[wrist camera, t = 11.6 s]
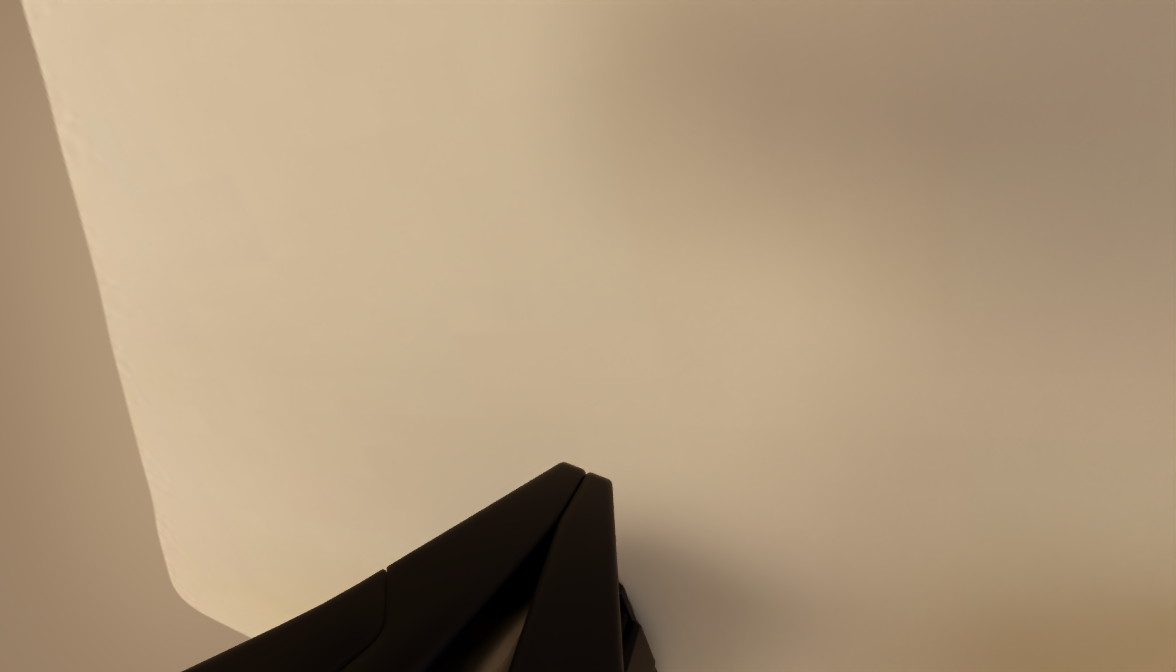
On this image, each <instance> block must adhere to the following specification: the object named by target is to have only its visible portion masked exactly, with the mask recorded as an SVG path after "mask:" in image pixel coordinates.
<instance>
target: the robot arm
mask: <svg viewBox="0 0 1176 672" xmlns="http://www.w3.org/2000/svg"><path fill="white" fill-rule="evenodd" d="M182 672H657V670H656V668H655V660H654V658H653V655H652V653H651V650H650V648H649V645H648V642H647V640H646V637H645V635H644V632H643V630H642V627H641V625H640V624H639V623H638V622H637V620H636V617H635V615H634V612H633V610H632V607H631V604H630V602H629V599H628V597H627V594H626V592H625V589H624V587H623V586H622V585H621V584H620V583H619V582H618V568H617V552H616V536H615V520H614V503H613V487H612V482H611V481H610V480H609V479H607V478H604V477H602V476H599V475H596V474H594V473H591V472H590V473H587V474H586V472H585V471H584V470H583V469H581V468H579V467H576V466H574V465H571V464H568V463H566V462H562V463H559V464H558V465H556V466H554V467H553V468H551V469H549V470H548V471H546V472H544V473H543V474H541V475H539V476H538V477H536V478H534V479H533V480H531V481H529V482H528V483H526V484H524V485H523V486H521V487H519V488H518V489H516V490H514V491H513V492H511V493H509V494H508V495H506V496H504V497H503V498H501V499H499V500H498V501H496V502H494V503H493V504H491V505H489V506H488V507H486V508H484V509H483V510H481V511H479V512H478V513H476V514H474V515H473V516H471V517H469V518H468V519H466V520H464V521H463V522H461V523H459V524H458V525H456V526H454V527H453V528H451V529H449V530H448V531H446V532H444V533H443V534H441V535H439V536H438V537H436V538H434V539H432V540H431V541H429V542H427V543H426V544H424V545H422V546H421V547H419V548H417V549H416V550H414V551H412V552H411V553H409V554H407V555H406V556H404V557H402V558H401V559H399V560H397V561H396V562H394V563H392V564H391V565H389V566H388V567H387V572H386V570H384V569H382V570H380V571H379V572H377V573H375V574H374V575H372V576H370V577H369V578H367V579H365V580H364V581H362V582H360V583H359V584H357V585H355V586H353V587H352V588H350V589H348V590H346V591H344V592H343V593H341V594H339V595H337V596H336V597H334V598H332V599H330V600H329V601H327V602H325V603H323V604H321V605H319V606H317V607H315V608H313V609H311V610H309V611H307V612H305V613H303V614H301V615H299V616H297V617H295V618H293V619H291V620H289V621H287V622H285V623H283V624H281V625H279V626H277V627H275V628H273V629H271V630H269V631H267V632H265V633H262V634H260V635H258V636H256V637H254V638H252V639H250V640H248V641H246V642H243V643H242V644H239V645H237V646H235V647H233V648H231V649H229V650H227V651H225V652H222V653H220V654H218V655H216V656H214V657H212V658H210V659H208V660H206V661H203V662H201V663H199V664H197V665H195V666H193V667H191V668H189V669H186V670H184V671H182Z"/></svg>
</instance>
